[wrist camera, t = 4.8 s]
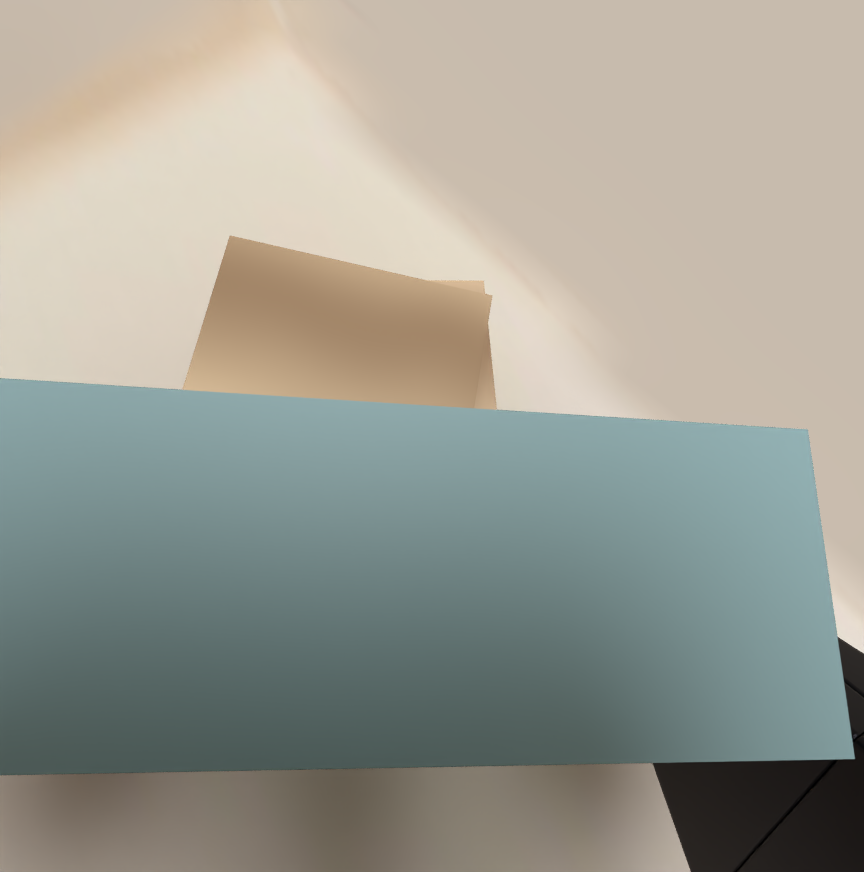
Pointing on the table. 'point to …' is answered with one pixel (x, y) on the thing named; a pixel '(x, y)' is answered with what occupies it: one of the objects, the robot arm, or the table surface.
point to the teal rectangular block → (402, 587)
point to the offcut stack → (341, 332)
